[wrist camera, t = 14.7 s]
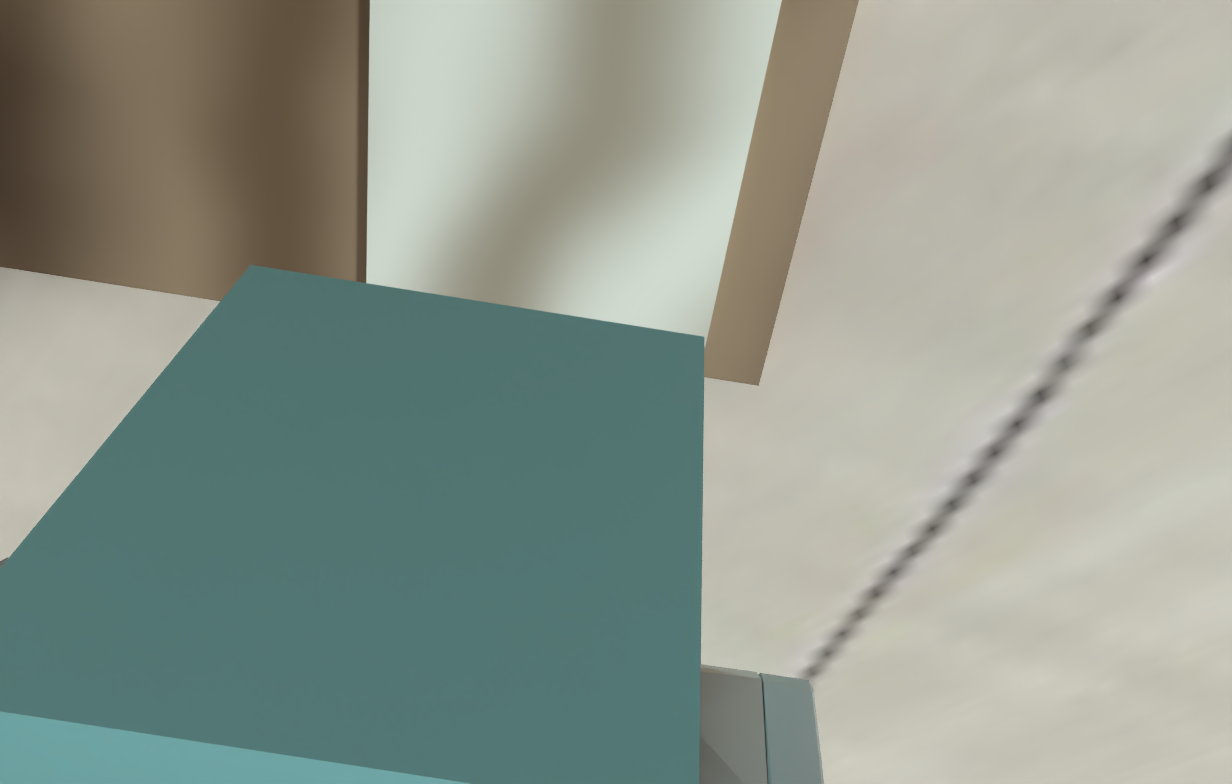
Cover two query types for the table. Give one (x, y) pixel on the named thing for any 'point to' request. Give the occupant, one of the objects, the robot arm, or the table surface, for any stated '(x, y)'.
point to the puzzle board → (427, 150)
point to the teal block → (373, 555)
